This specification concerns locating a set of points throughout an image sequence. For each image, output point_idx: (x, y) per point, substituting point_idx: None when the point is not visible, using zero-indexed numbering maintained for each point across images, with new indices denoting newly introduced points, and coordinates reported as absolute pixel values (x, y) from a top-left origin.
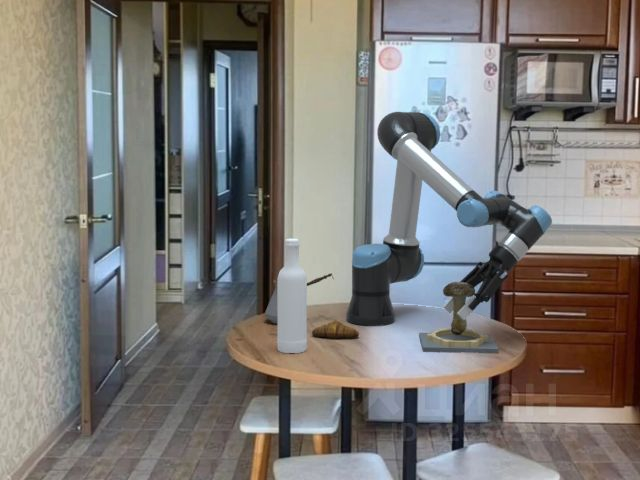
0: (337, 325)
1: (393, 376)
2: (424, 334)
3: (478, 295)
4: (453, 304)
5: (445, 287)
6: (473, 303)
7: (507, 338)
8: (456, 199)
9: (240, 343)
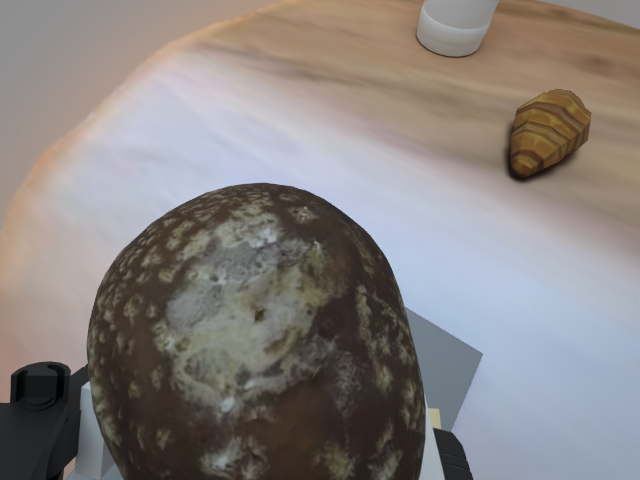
0: (540, 103)
1: (155, 78)
2: (444, 352)
3: (15, 402)
4: None
5: (307, 191)
6: (86, 365)
7: None
8: None
9: (527, 5)
